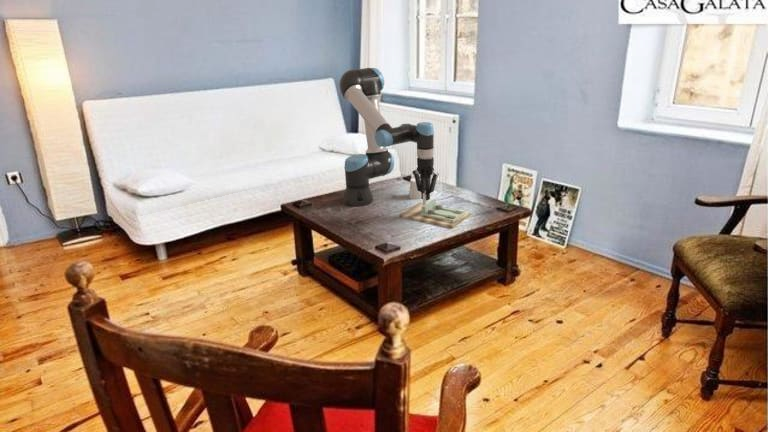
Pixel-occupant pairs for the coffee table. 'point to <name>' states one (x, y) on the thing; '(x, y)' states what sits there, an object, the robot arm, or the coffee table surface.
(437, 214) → the panel
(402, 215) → the board
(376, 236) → the coffee table surface
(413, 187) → the mug
